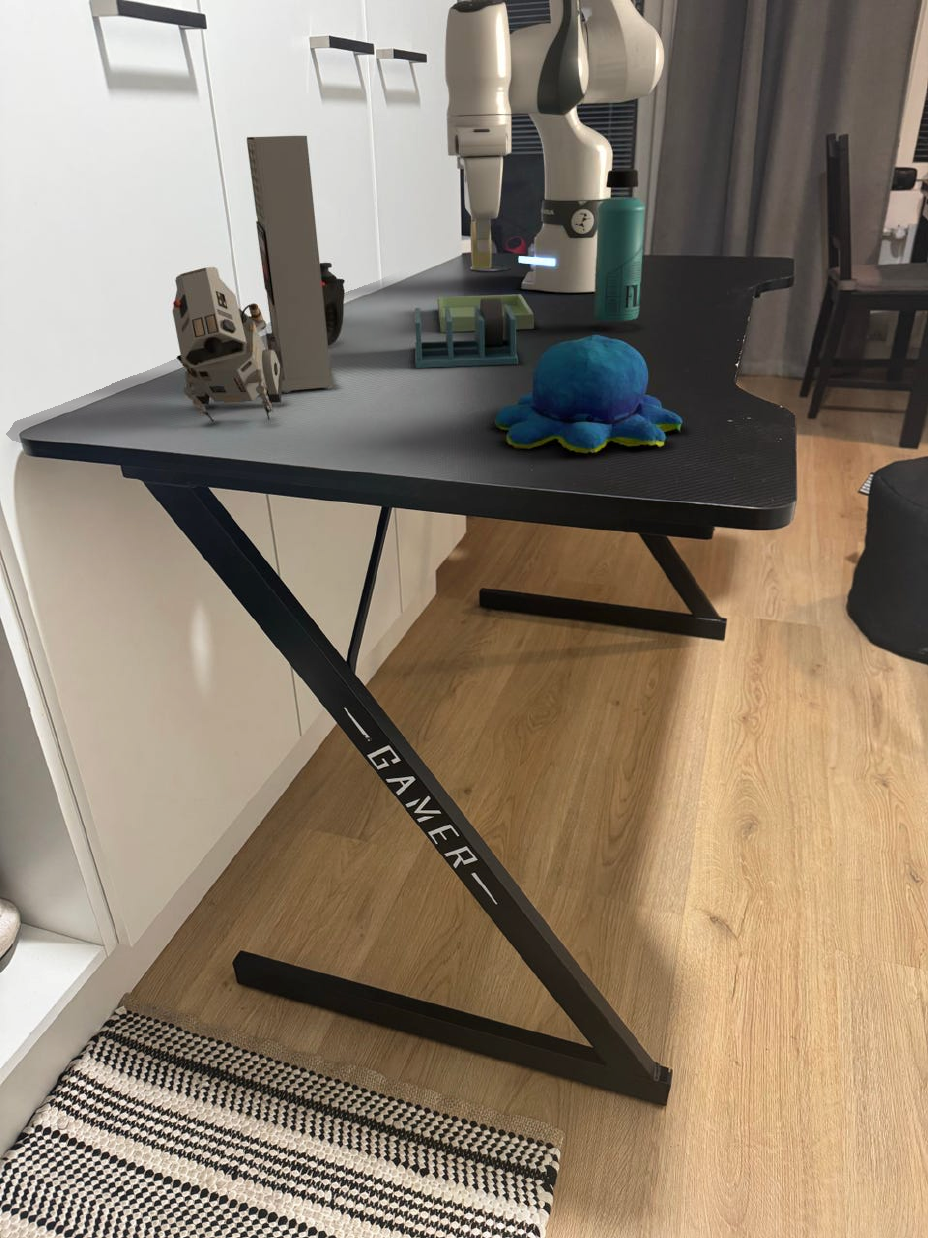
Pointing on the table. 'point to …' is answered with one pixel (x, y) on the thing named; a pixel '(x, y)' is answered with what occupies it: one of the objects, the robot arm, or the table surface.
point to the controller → (332, 302)
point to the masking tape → (478, 258)
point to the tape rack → (466, 345)
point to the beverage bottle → (619, 251)
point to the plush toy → (588, 400)
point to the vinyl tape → (492, 321)
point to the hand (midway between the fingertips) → (481, 249)
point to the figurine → (222, 344)
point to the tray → (465, 307)
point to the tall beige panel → (290, 259)
